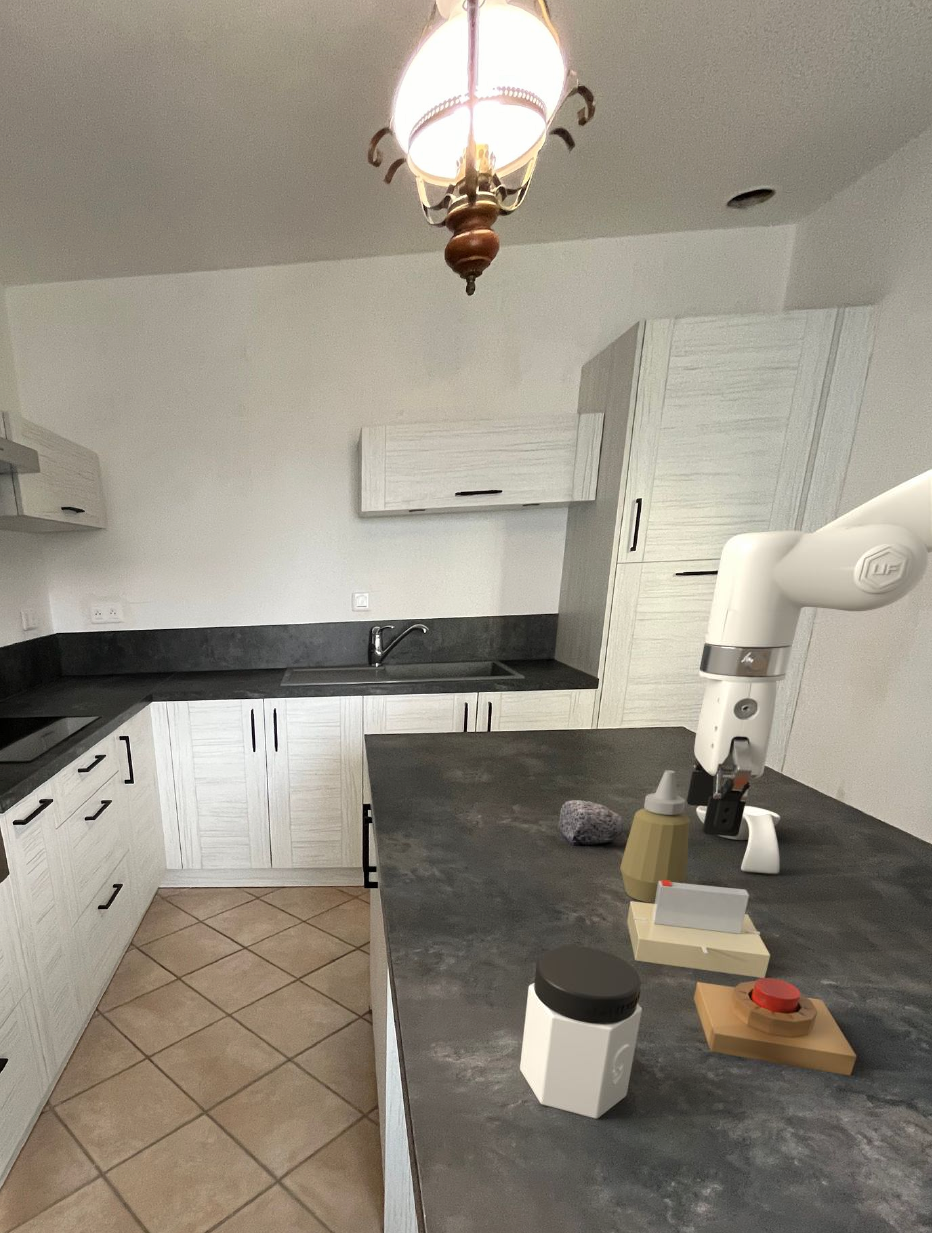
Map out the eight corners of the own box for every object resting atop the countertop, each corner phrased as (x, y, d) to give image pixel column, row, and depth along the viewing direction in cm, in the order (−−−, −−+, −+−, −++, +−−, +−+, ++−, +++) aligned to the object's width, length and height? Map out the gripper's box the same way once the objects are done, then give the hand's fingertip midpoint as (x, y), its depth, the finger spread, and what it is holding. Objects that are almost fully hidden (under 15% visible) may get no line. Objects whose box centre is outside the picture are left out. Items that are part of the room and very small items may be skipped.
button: (789, 996, 67) (794, 981, 66) (801, 1017, 64) (806, 1002, 63) (747, 990, 68) (750, 975, 67) (756, 1011, 65) (760, 995, 64)
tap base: (740, 929, 86) (746, 907, 85) (769, 986, 74) (776, 961, 73) (625, 915, 90) (628, 894, 89) (635, 967, 79) (639, 943, 78)
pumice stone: (609, 846, 118) (552, 824, 121) (629, 806, 115) (570, 785, 118) (609, 867, 109) (547, 843, 112) (630, 825, 106) (566, 802, 109)
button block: (817, 1017, 69) (826, 984, 68) (850, 1076, 61) (862, 1039, 60) (693, 999, 73) (700, 966, 71) (710, 1052, 65) (718, 1017, 64)
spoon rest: (687, 818, 122) (694, 780, 120) (763, 824, 119) (772, 785, 116) (715, 871, 102) (725, 826, 99) (809, 880, 98) (822, 833, 95)
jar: (583, 1134, 56) (602, 1012, 52) (502, 1079, 63) (513, 967, 58) (642, 1087, 61) (664, 972, 57) (561, 1041, 67) (575, 934, 63)
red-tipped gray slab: (737, 927, 80) (746, 887, 79) (740, 934, 79) (749, 893, 77) (651, 917, 83) (658, 878, 82) (653, 923, 82) (660, 884, 80)
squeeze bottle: (617, 879, 101) (635, 761, 94) (680, 888, 97) (703, 766, 91) (615, 902, 94) (635, 777, 87) (683, 912, 90) (708, 783, 84)
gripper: (815, 675, 61) (771, 851, 67) (763, 653, 76) (731, 798, 82) (719, 674, 64) (685, 843, 70) (687, 652, 79) (661, 793, 85)
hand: (710, 818), depth 76 cm, fingers open, 9 cm apart
